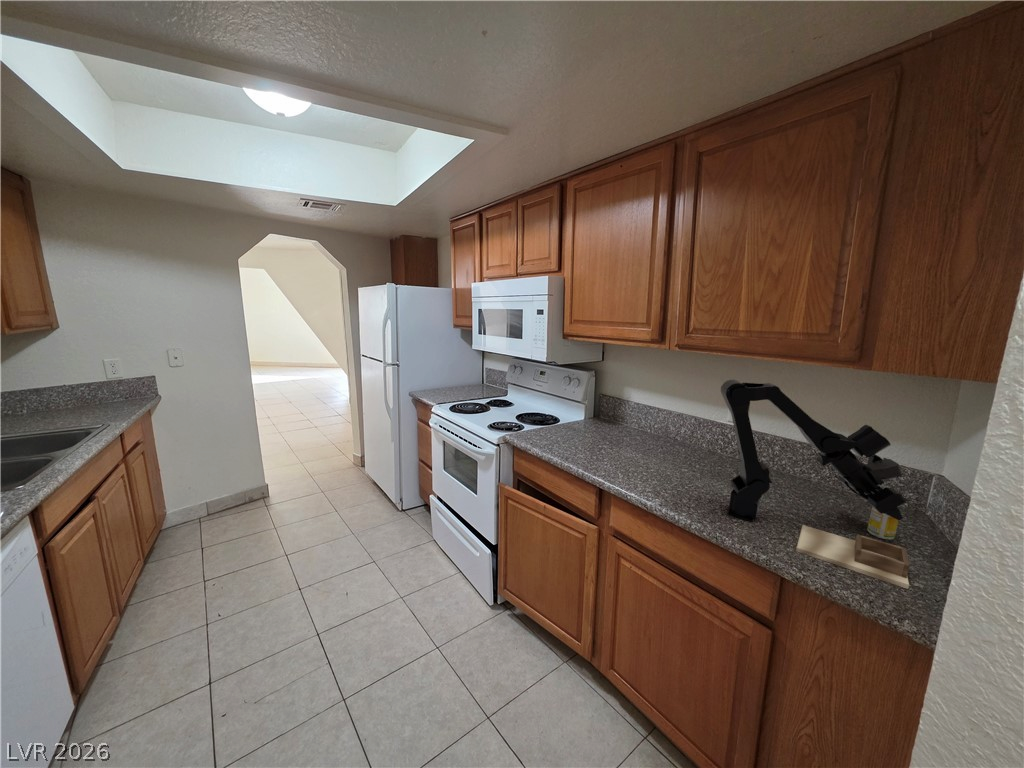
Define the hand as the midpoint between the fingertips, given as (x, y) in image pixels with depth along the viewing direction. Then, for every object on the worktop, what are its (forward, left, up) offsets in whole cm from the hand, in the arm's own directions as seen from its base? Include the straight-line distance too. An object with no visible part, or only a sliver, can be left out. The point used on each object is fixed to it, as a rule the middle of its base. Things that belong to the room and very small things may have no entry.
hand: (891, 512), depth 102 cm
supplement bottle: (-1, -1, -7) cm, 7 cm away
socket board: (-7, -19, -7) cm, 21 cm away
